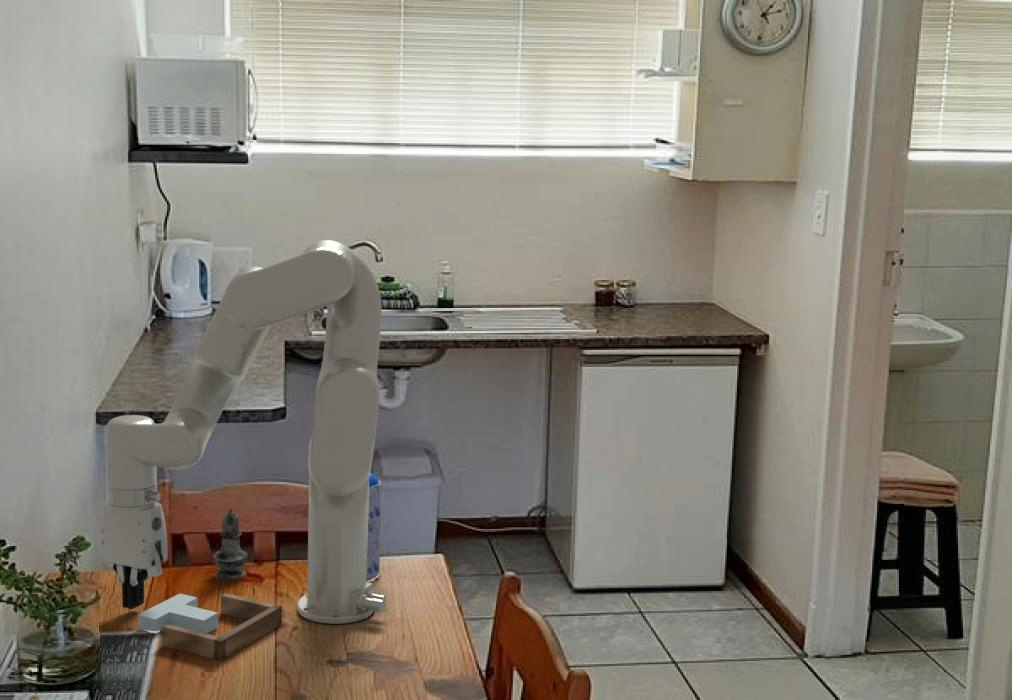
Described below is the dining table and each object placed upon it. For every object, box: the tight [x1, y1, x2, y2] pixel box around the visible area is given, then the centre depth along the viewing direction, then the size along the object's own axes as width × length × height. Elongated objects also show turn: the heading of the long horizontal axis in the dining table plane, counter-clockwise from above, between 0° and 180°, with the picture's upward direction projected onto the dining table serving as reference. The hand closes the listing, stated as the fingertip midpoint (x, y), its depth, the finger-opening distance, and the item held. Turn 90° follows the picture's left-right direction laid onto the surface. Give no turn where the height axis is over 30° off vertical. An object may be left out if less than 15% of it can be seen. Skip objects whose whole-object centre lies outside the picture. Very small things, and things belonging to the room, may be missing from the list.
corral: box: [161, 592, 283, 662], centre depth 189 cm, size 11×15×3 cm
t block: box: [136, 593, 219, 634], centre depth 192 cm, size 10×10×2 cm
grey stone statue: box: [212, 508, 249, 581], centre depth 213 cm, size 6×6×12 cm
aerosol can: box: [367, 471, 383, 581], centre depth 214 cm, size 8×8×20 cm
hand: (133, 605), depth 196 cm, fingers closed
